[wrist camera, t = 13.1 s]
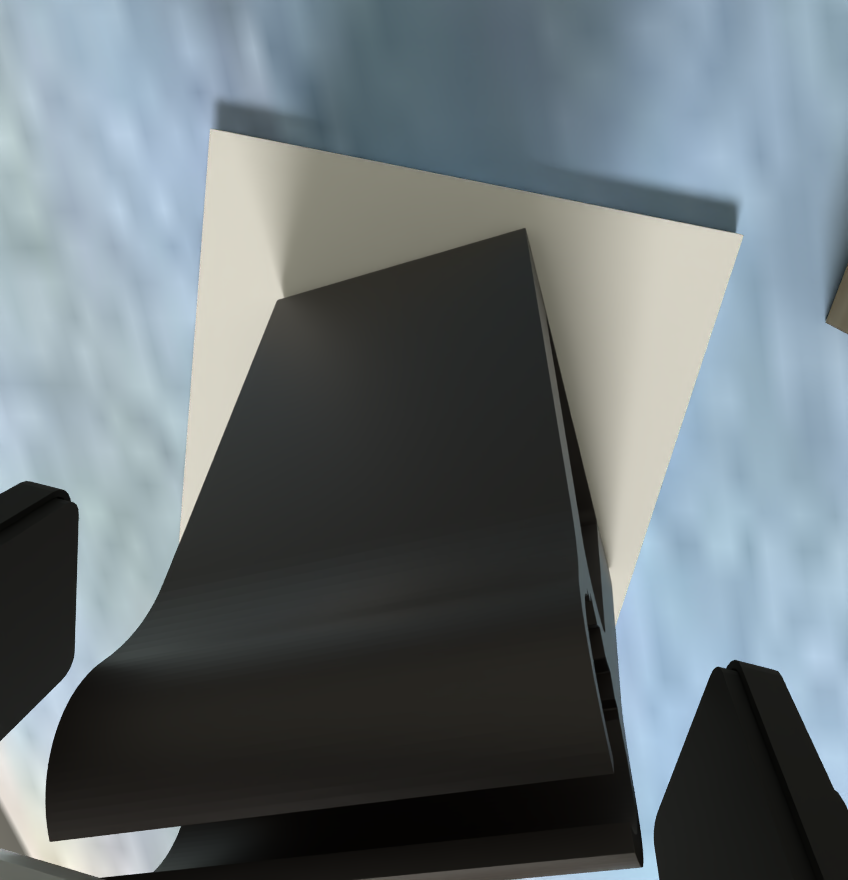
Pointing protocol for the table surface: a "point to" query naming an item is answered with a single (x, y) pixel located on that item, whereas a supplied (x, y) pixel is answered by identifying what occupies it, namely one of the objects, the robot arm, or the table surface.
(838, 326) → the wooden frame
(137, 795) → the phone stand
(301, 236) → the cream mat
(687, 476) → the table surface
